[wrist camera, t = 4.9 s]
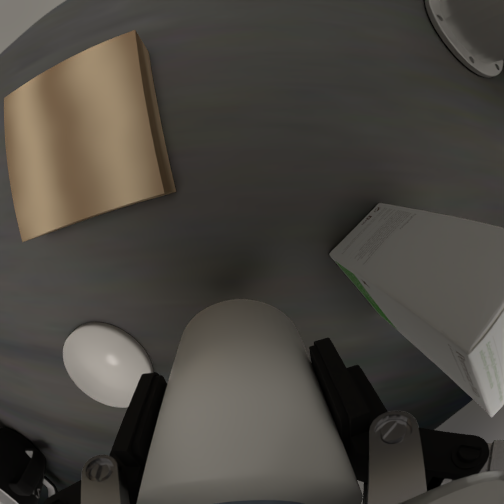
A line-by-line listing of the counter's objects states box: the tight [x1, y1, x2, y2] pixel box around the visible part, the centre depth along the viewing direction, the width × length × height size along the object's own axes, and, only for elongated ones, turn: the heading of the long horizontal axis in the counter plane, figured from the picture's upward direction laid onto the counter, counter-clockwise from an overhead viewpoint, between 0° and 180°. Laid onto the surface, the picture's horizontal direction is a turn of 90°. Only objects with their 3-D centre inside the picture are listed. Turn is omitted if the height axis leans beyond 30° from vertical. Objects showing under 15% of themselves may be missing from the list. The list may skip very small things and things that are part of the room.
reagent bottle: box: [137, 299, 362, 504], centre depth 8 cm, size 5×5×9 cm
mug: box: [0, 428, 57, 504], centre depth 20 cm, size 16×16×12 cm
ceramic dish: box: [63, 322, 153, 407], centre depth 23 cm, size 9×9×1 cm
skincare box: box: [329, 203, 504, 417], centre depth 16 cm, size 8×7×16 cm
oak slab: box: [4, 30, 176, 242], centre depth 17 cm, size 12×12×4 cm
